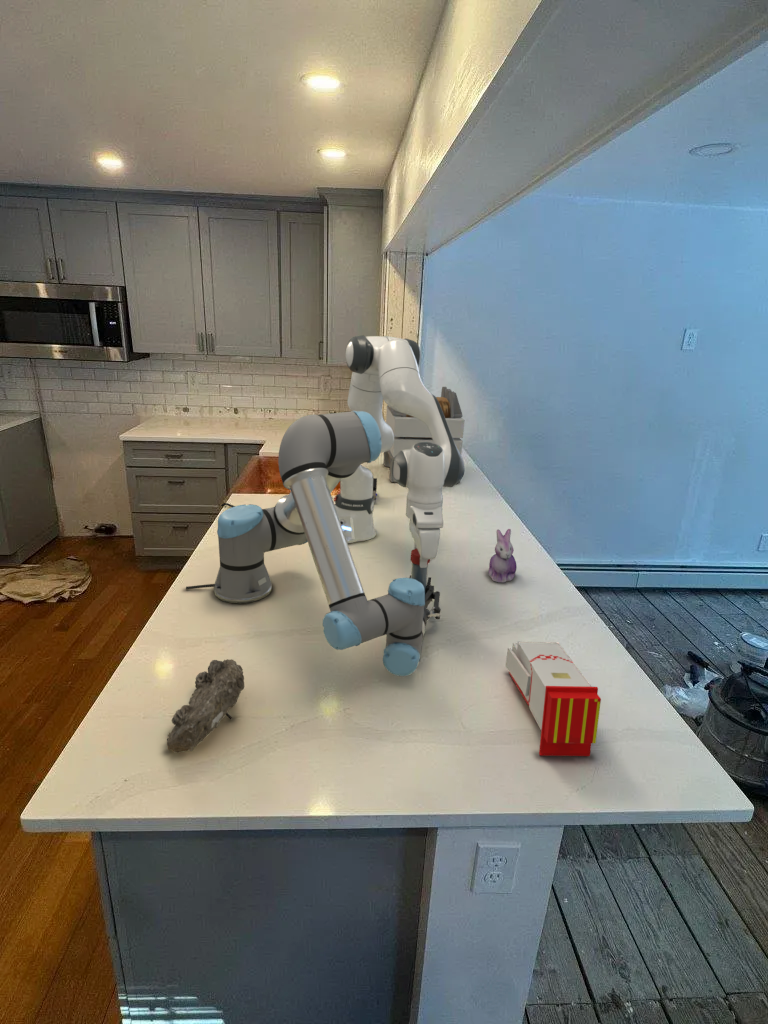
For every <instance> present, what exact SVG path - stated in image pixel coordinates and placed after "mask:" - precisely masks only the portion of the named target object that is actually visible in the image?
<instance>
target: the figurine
mask: <svg viewBox="0 0 768 1024" xmlns="http://www.w3.org/2000/svg"><path fill="white" fill-rule="evenodd" d="M495 532H496V544H495V547H494V553H495V554H493V555H492V556H491V557H490V559H489V564H488V565H489V566H488V567H489V568H488V577H490V578H491V580H492V581H493V582H496V583H497V582H498V583H506V582H510V581H512V580H513V579H514V578H515V575H516V571H517V568H518V567H517V561H516V559H515V557H514V555H513V553H514V549H515V548H514V547H513V544H512V542H511V536H512V535H511V534H512V529H511V528H508V529H506V531H505V533H504V535H503V533H502V532H501V530H500V529H496V531H495Z"/></svg>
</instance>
